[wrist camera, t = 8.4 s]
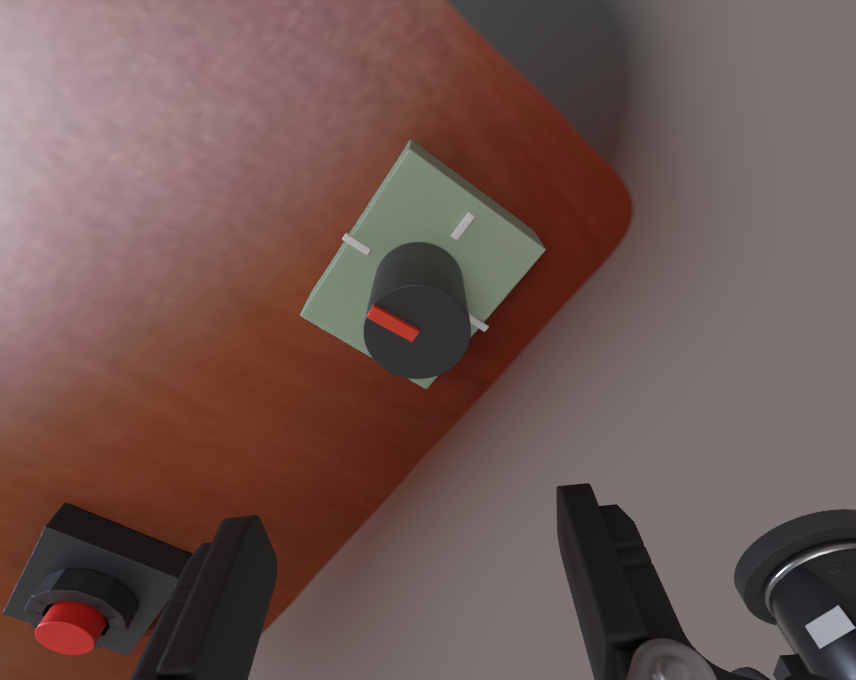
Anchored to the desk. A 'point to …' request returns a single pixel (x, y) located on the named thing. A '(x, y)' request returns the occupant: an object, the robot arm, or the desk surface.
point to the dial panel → (431, 223)
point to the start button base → (98, 575)
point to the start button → (70, 628)
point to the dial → (417, 312)
